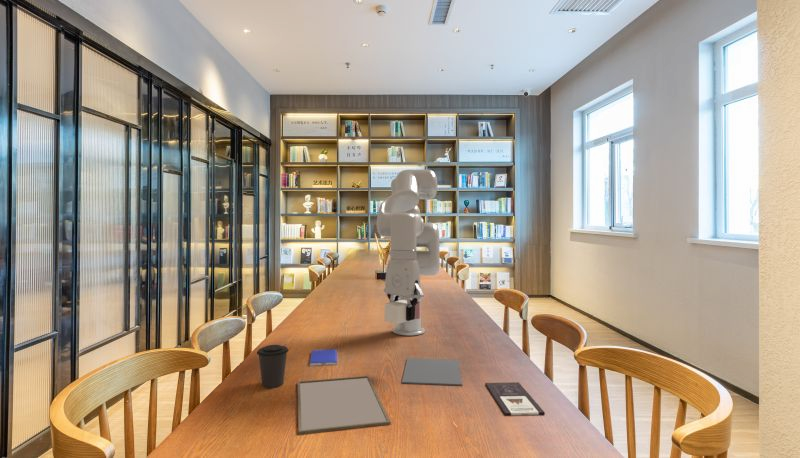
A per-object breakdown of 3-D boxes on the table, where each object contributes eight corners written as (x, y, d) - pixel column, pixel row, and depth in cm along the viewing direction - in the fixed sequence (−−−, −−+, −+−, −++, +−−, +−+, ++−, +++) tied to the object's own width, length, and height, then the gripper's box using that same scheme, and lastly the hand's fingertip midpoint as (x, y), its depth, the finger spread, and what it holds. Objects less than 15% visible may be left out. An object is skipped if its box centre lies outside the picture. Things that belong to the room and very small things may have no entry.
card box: (397, 324, 120) (397, 305, 120) (384, 321, 123) (384, 303, 123) (420, 317, 127) (420, 300, 127) (407, 315, 131) (407, 298, 130)
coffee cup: (261, 392, 109) (261, 353, 109) (253, 382, 116) (253, 345, 116) (292, 386, 113) (292, 348, 113) (283, 376, 120) (283, 340, 120)
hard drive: (311, 349, 141) (309, 362, 129) (337, 348, 143) (337, 361, 130) (311, 354, 141) (309, 367, 129) (337, 353, 143) (337, 366, 130)
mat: (407, 359, 135) (407, 358, 135) (458, 360, 134) (458, 359, 134) (401, 383, 115) (401, 381, 115) (462, 385, 114) (462, 384, 114)
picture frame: (390, 426, 92) (368, 379, 120) (390, 421, 92) (368, 375, 120) (298, 436, 88) (297, 385, 115) (298, 431, 88) (297, 381, 115)
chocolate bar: (518, 382, 115) (544, 412, 97) (518, 385, 115) (544, 416, 97) (485, 382, 115) (505, 413, 97) (485, 386, 115) (505, 417, 97)
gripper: (373, 254, 128) (373, 316, 128) (417, 258, 116) (417, 325, 117) (390, 253, 133) (390, 312, 134) (434, 256, 122) (434, 321, 122)
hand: (403, 317), depth 125 cm, fingers closed on card box, 5 cm apart
